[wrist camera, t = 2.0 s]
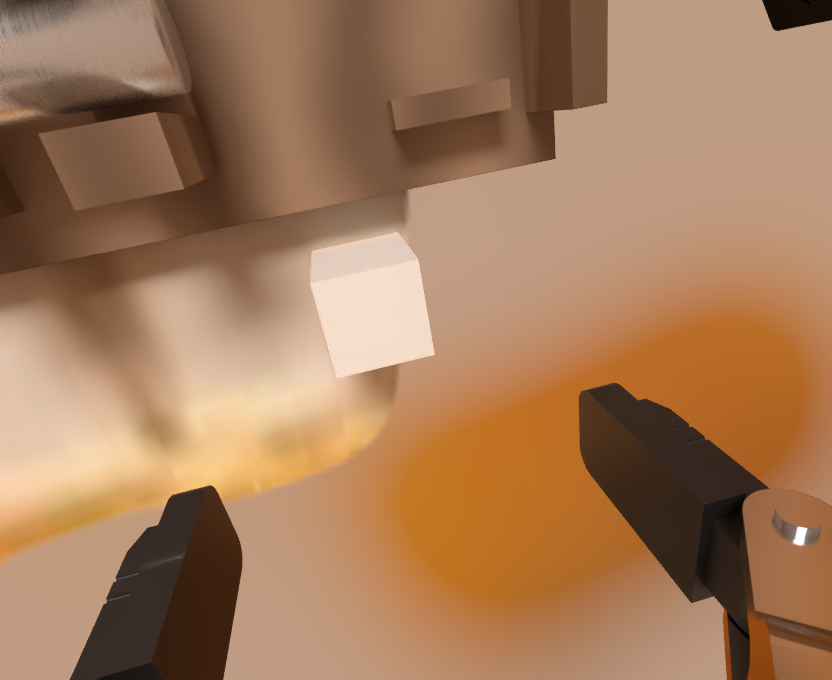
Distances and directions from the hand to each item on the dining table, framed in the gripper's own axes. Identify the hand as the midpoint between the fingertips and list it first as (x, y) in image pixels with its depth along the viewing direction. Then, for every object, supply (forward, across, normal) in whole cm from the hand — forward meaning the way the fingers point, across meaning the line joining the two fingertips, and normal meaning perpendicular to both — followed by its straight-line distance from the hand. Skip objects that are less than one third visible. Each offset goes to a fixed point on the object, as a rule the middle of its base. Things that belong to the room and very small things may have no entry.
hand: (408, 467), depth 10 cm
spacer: (+14, 0, 0) cm, 14 cm away
